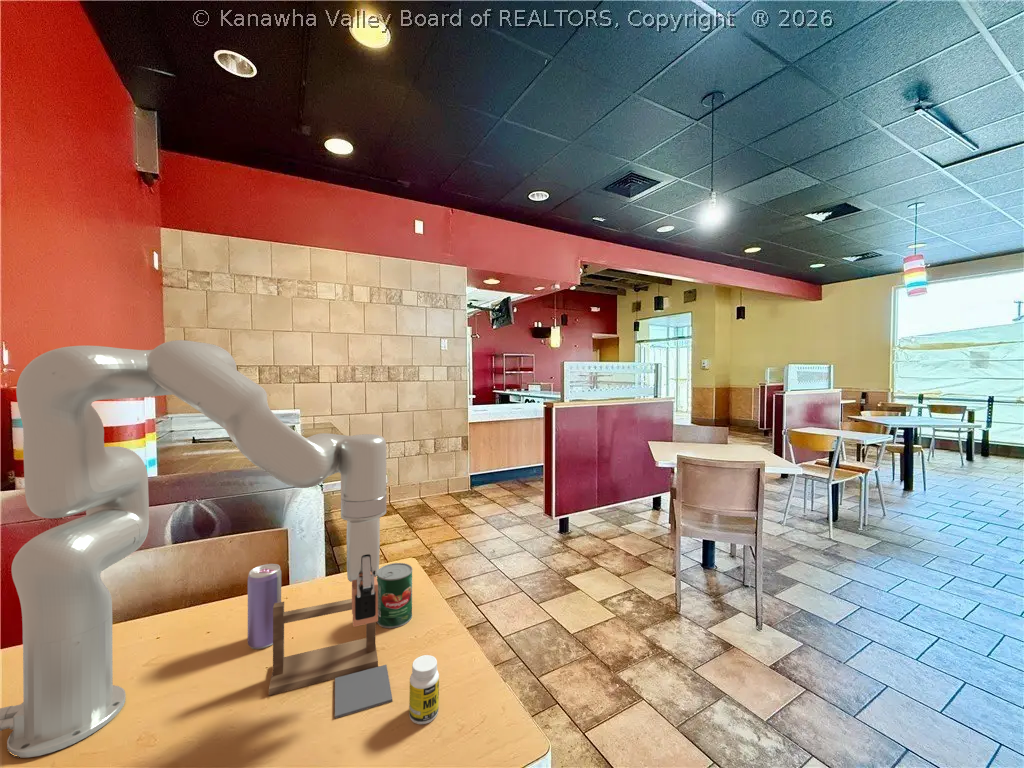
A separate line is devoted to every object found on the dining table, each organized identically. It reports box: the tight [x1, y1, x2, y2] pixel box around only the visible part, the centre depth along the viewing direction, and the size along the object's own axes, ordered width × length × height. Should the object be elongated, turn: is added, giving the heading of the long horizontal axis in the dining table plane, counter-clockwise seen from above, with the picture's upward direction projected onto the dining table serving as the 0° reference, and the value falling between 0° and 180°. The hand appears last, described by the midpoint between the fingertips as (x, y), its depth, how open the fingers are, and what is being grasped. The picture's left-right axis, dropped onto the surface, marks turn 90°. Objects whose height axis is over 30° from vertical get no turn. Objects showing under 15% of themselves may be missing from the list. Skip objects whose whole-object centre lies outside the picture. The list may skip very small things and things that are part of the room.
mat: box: [334, 664, 393, 719], centre depth 71 cm, size 9×9×1 cm
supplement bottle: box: [408, 654, 440, 725], centre depth 66 cm, size 5×5×8 cm
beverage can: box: [247, 563, 282, 650], centre depth 84 cm, size 6×6×15 cm
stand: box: [268, 598, 379, 696], centre depth 77 cm, size 18×8×14 cm, turn 114°
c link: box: [351, 574, 378, 627], centre depth 71 cm, size 4×5×6 cm
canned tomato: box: [376, 562, 413, 629], centre depth 93 cm, size 8×8×11 cm
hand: (364, 607), depth 71 cm, fingers closed on c link, 5 cm apart
